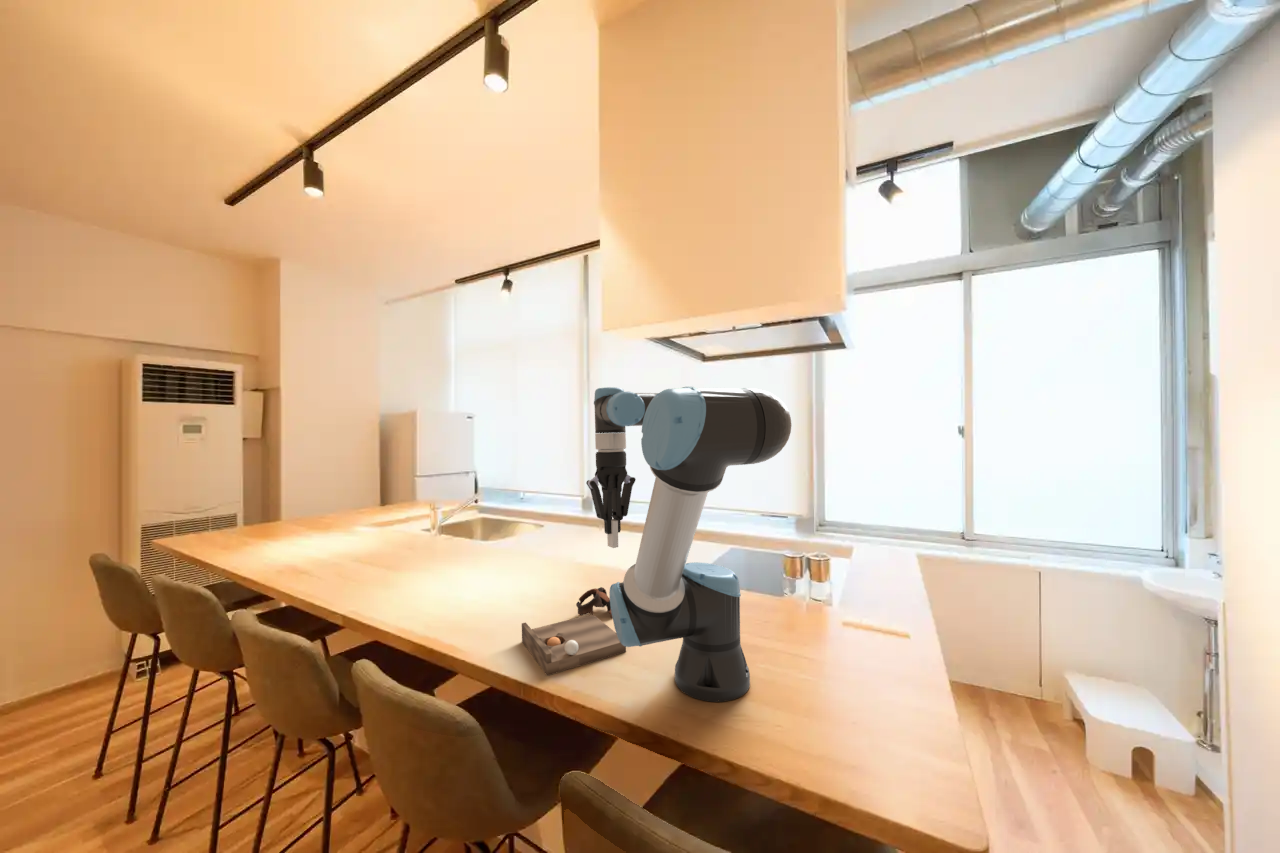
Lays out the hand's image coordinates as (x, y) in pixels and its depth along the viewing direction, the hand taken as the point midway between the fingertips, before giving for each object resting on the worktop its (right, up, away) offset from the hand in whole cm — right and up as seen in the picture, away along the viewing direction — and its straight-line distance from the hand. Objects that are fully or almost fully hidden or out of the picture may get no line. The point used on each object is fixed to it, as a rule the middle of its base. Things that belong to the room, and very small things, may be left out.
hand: (612, 546), depth 115 cm
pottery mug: (-5, -23, +14) cm, 27 cm away
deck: (-9, -23, -4) cm, 25 cm away
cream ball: (-8, -19, -13) cm, 24 cm away
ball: (-13, -21, -6) cm, 26 cm away
